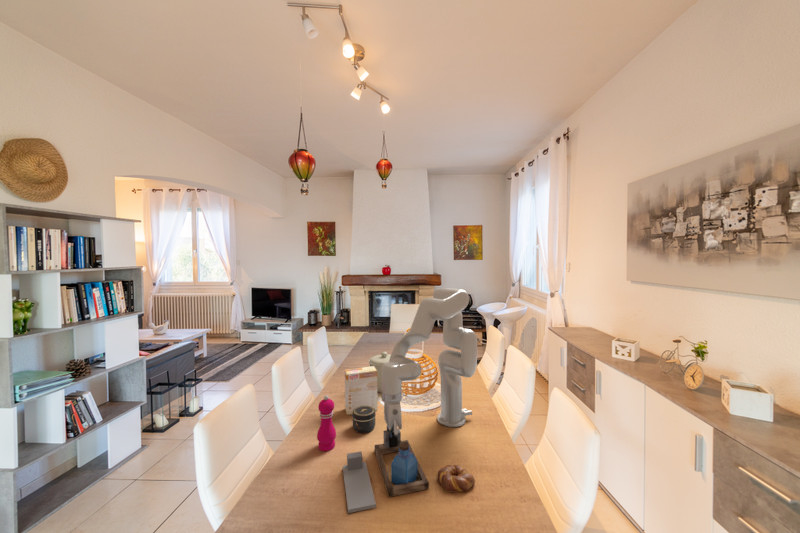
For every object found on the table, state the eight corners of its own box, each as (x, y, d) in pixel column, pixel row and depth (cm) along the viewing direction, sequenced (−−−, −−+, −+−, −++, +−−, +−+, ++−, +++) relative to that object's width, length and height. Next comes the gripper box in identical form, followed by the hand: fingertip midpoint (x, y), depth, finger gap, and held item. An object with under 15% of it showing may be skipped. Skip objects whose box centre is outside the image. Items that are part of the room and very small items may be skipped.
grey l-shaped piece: (365, 464, 111) (365, 450, 111) (375, 507, 92) (375, 490, 92) (342, 468, 109) (342, 454, 109) (348, 513, 90) (348, 495, 90)
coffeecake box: (374, 404, 159) (374, 365, 158) (377, 410, 152) (377, 370, 152) (344, 408, 154) (344, 369, 154) (346, 415, 147) (346, 374, 147)
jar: (347, 430, 134) (347, 412, 134) (361, 420, 143) (361, 403, 143) (367, 436, 130) (367, 418, 129) (379, 425, 138) (379, 408, 138)
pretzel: (474, 474, 107) (474, 463, 107) (474, 498, 96) (474, 486, 96) (439, 468, 110) (439, 458, 110) (435, 491, 99) (435, 479, 99)
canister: (372, 382, 188) (372, 346, 187) (402, 383, 185) (402, 347, 185) (364, 395, 170) (364, 356, 169) (398, 396, 167) (397, 357, 167)
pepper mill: (339, 443, 125) (339, 393, 125) (329, 453, 118) (329, 400, 118) (323, 439, 127) (323, 390, 127) (313, 450, 120) (312, 398, 120)
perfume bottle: (407, 490, 99) (407, 452, 99) (391, 482, 102) (391, 446, 102) (417, 478, 104) (417, 442, 104) (401, 471, 108) (401, 437, 107)
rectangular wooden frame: (407, 445, 123) (407, 427, 123) (428, 488, 99) (428, 466, 99) (374, 450, 120) (374, 432, 120) (388, 496, 96) (388, 474, 96)
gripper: (407, 404, 113) (407, 454, 113) (396, 386, 128) (396, 431, 129) (386, 406, 111) (387, 458, 111) (377, 388, 127) (378, 433, 127)
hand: (392, 443), depth 120 cm, fingers closed on rectangular wooden frame, 3 cm apart
